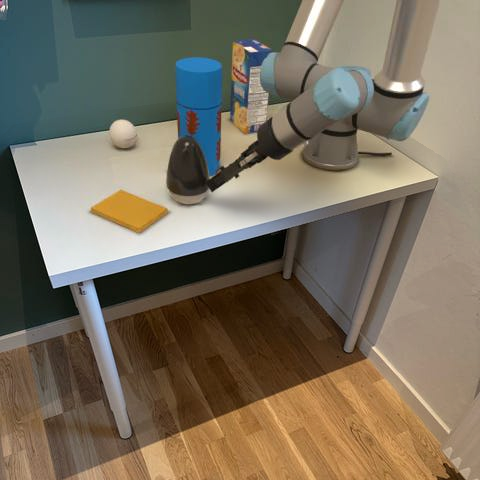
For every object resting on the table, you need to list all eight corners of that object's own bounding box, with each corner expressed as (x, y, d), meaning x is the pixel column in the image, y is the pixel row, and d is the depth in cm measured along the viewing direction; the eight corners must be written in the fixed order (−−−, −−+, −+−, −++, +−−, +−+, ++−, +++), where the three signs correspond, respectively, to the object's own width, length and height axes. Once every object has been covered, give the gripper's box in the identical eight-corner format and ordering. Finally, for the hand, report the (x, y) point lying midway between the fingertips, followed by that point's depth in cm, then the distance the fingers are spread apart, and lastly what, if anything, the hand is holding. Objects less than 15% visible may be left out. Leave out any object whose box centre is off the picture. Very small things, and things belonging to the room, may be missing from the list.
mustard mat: (167, 212, 108) (167, 208, 107) (139, 233, 102) (138, 228, 101) (121, 193, 113) (120, 189, 112) (91, 212, 106) (90, 207, 106)
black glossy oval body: (163, 208, 109) (158, 145, 98) (171, 186, 116) (167, 125, 106) (207, 212, 109) (207, 149, 98) (212, 189, 116) (212, 128, 106)
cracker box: (245, 133, 140) (250, 52, 125) (229, 119, 147) (232, 40, 132) (265, 130, 143) (273, 50, 127) (249, 116, 149) (254, 39, 134)
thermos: (212, 180, 119) (213, 75, 102) (173, 173, 121) (167, 68, 103) (225, 162, 127) (228, 61, 109) (187, 155, 129) (185, 54, 111)
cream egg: (118, 155, 126) (114, 128, 121) (106, 144, 131) (102, 118, 125) (151, 147, 131) (149, 121, 126) (139, 137, 135) (136, 111, 130)
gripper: (278, 162, 87) (203, 212, 104) (308, 138, 95) (234, 188, 112) (256, 126, 85) (183, 183, 102) (288, 105, 93) (216, 161, 110)
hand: (210, 186), depth 107 cm, fingers closed
